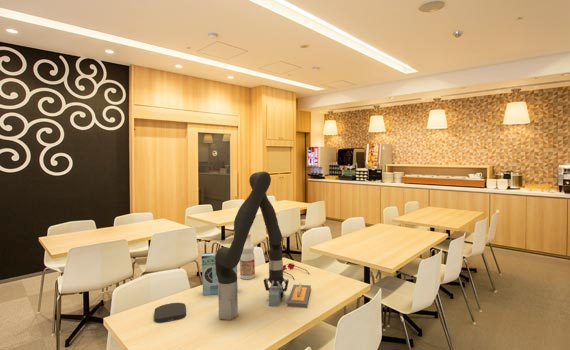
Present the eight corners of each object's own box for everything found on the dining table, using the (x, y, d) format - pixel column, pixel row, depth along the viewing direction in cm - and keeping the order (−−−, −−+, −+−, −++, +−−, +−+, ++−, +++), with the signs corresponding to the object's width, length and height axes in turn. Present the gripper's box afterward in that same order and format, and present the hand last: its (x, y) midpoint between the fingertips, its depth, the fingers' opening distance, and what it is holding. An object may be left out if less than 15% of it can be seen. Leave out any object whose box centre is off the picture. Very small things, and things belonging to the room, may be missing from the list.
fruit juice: (237, 276, 207) (236, 234, 206) (250, 273, 212) (249, 232, 211) (244, 281, 199) (243, 236, 198) (257, 277, 204) (256, 234, 203)
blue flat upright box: (237, 289, 186) (236, 251, 185) (237, 293, 181) (236, 253, 180) (203, 292, 183) (202, 252, 182) (202, 295, 178) (201, 255, 177)
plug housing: (278, 306, 164) (278, 295, 164) (268, 305, 165) (268, 294, 165) (285, 289, 185) (285, 279, 185) (276, 289, 186) (276, 279, 185)
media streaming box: (154, 311, 162) (154, 305, 162) (184, 306, 167) (184, 300, 167) (154, 324, 148) (154, 318, 148) (186, 318, 153) (186, 312, 153)
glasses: (293, 268, 221) (293, 261, 221) (310, 275, 209) (310, 267, 209) (278, 273, 213) (277, 266, 212) (294, 280, 200) (294, 272, 200)
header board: (306, 307, 162) (306, 297, 162) (287, 306, 164) (287, 295, 164) (310, 288, 186) (310, 279, 186) (293, 287, 188) (293, 278, 187)
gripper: (261, 269, 169) (261, 300, 169) (288, 270, 166) (288, 302, 167) (264, 264, 176) (265, 294, 177) (290, 265, 174) (290, 296, 174)
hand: (276, 298), depth 172 cm, fingers closed on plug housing, 5 cm apart
